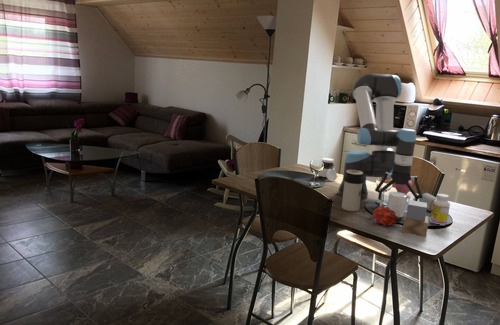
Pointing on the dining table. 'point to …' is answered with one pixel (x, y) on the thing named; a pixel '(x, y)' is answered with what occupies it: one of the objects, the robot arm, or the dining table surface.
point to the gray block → (416, 210)
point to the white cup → (397, 203)
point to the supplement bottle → (440, 209)
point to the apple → (403, 187)
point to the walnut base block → (415, 226)
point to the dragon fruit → (385, 216)
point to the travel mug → (352, 190)
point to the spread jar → (328, 170)
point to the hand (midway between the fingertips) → (396, 209)
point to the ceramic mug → (428, 200)
